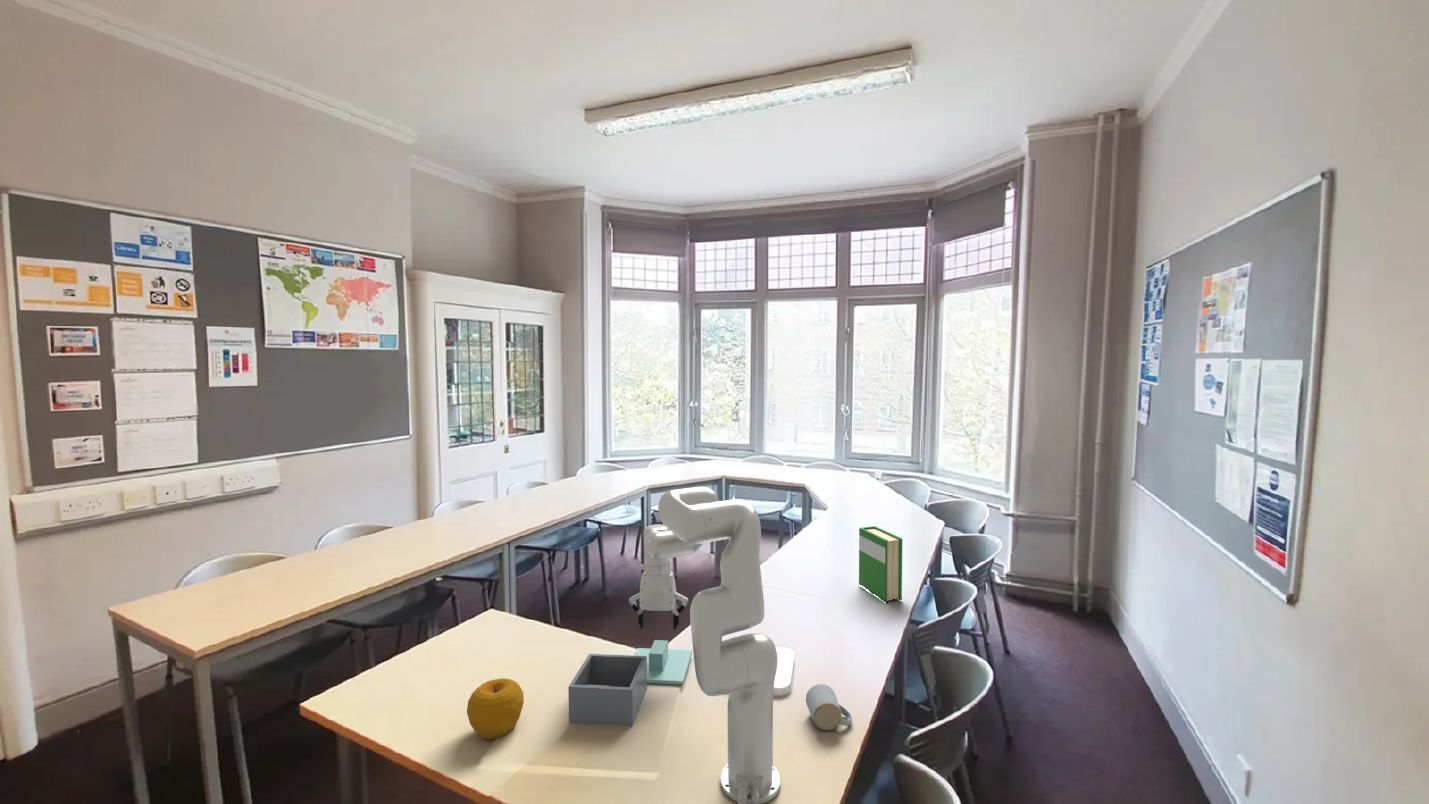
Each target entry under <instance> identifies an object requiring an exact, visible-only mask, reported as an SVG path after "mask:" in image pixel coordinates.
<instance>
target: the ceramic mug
mask: <svg viewBox="0 0 1429 804" xmlns="http://www.w3.org/2000/svg"><path fill="white" fill-rule="evenodd" d="M805 703H806V706H807V708H808V711H809V714H810V716H811V720H812V721H813V723H814V725H816V727H817V728H818V729H820V730H822V731H832V730H834V729H836V728H837V727H838V726H839V725H841V726H845V727H846V726H850V725H851V723H852V721H853V717H852V714H851V713H850V712H849V711H848V710H847V709H846V708H845V707H843V706H842V705H841V704H839V702H838V699H837V696H836V693H835V692H834V690H833V689H832V688H831V687H830V686H829V685H827V684H824V683H823V684H821V683H819V684H815V685H813V686H811V687H810V688H809V689H808V690H807V692H806V694H805ZM842 715H843V716H844V717H845V718H842Z"/></svg>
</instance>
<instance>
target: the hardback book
mask: <svg viewBox="0 0 1429 804" xmlns="http://www.w3.org/2000/svg"><path fill="white" fill-rule="evenodd" d="M858 528H859V529H858V531H859V533H858V534H859V535H858V537H859V538H858V542H859V543H858V585H859V584H860V585H862V586H864V587H865V588H866V589H868V590H869V591H870V592H871V593H872V594H875V595H876V596H878V597H879V598H880V599H881V600H883V601H884V602H887V603H888V602H889V601H894V600H893V599H895V600H897V599H899V600H902V601H903V599H902V597H903V589H902V588H903V537H900V536H898V535H896V534H893V533H892V532H889V531H887V530H884V529H883V528H880V527H879V526H877V525H874V526H873V525H872V526H865V527H858Z"/></svg>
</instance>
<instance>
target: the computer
mask: <svg viewBox="0 0 1429 804" xmlns="http://www.w3.org/2000/svg"><path fill="white" fill-rule="evenodd" d="M775 647H776V650H777V654H778V667H777V672H776V677H775V683H774V690H773V696H775V697H779V696H780V697H781V696H786V695H788V694H789V693H790V692H791V688H792V680H793V672H794V664H795V652H794V651H793V650H792V649H790V648H787V647H781V646H780V647H779V646H778V647H777V646H775Z"/></svg>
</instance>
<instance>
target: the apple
mask: <svg viewBox="0 0 1429 804" xmlns="http://www.w3.org/2000/svg"><path fill="white" fill-rule="evenodd" d="M524 702H525V697H524V691H523V689H522V688H521V685H520V684H519V683H518V682H517V681H515V680H513V679H510V678H502V677H501V678H495V679H490V680H488V681H485V682H483V683H482V684H480V686H478V687H477V688H476V689H475V690H474V691H473V692H471V694H470V697H469V699H468V700H467V708H466V715H467V718H468V721H469V724H470V726H471V728H472V729H473V730H474V732H475V733H476V734H478V735H479V736H480V737H481V738H483V739H485V740H489V741H490V740H496V739H497V738H498V737H502V736H505V735H507V734H508V733H510V732H511V731H512V730H513V729H514V728H516V725H517V723H518V722H519V719H520V716H521V713H522V710H523V706H524Z"/></svg>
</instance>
